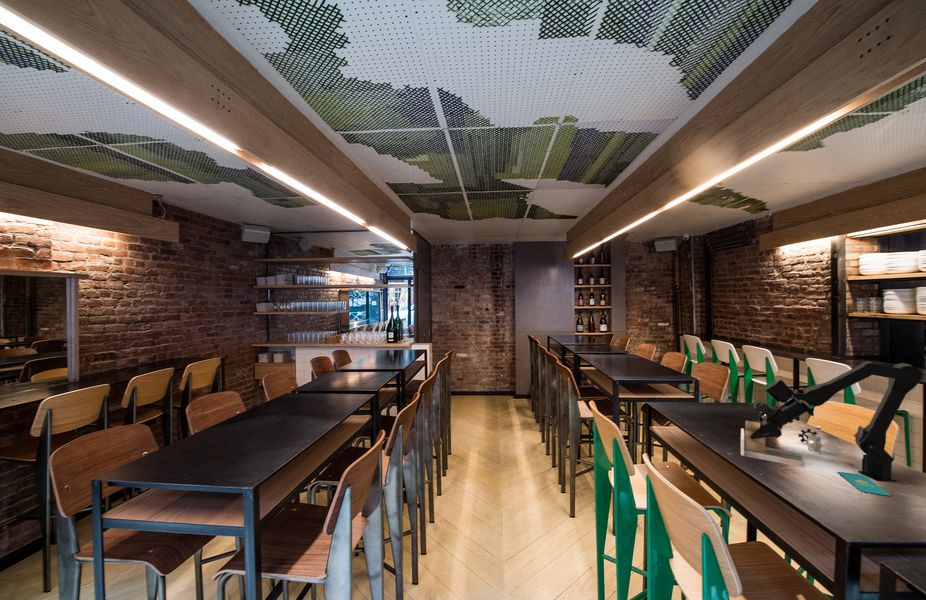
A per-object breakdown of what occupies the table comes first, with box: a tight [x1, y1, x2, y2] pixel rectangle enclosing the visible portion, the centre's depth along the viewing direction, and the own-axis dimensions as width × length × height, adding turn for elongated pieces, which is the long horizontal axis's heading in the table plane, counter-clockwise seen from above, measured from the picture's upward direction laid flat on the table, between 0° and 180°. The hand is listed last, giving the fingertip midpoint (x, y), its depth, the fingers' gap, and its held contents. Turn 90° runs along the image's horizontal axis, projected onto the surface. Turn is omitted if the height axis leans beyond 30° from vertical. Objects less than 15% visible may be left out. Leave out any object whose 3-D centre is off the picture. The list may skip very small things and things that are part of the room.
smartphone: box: [837, 471, 892, 498], centre depth 127 cm, size 7×1×15 cm
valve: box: [797, 428, 823, 455], centre depth 156 cm, size 7×7×12 cm
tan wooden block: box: [744, 420, 766, 454], centre depth 151 cm, size 6×6×10 cm
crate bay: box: [740, 428, 806, 468], centre depth 149 cm, size 18×15×7 cm
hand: (750, 435), depth 152 cm, fingers closed on tan wooden block, 6 cm apart
